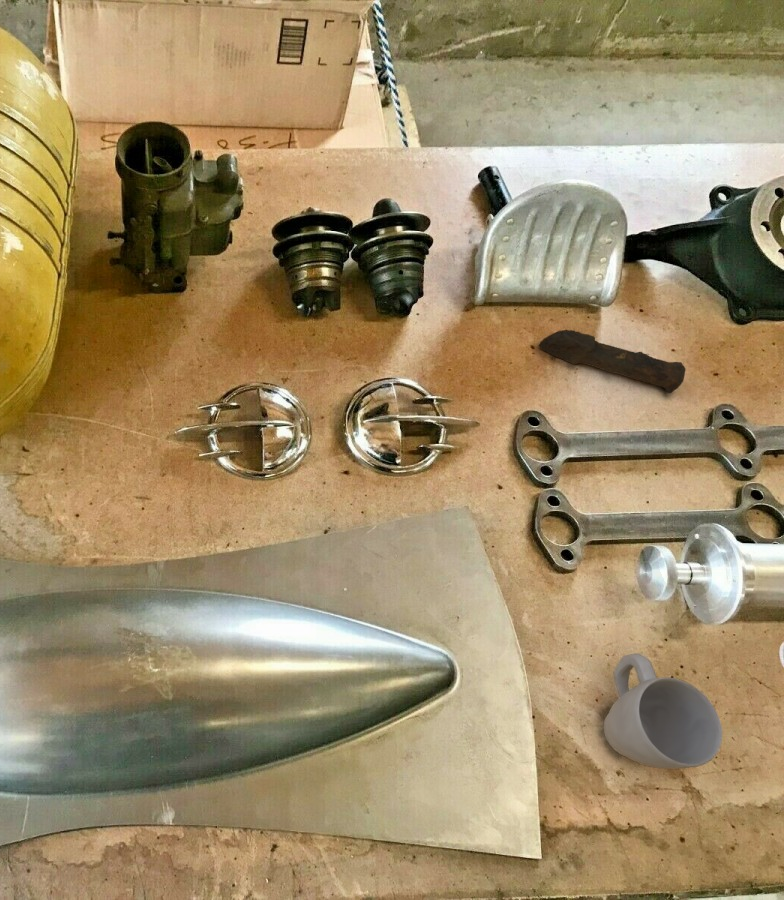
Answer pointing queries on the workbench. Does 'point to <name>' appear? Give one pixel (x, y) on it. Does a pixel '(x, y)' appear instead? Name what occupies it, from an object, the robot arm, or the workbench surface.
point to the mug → (661, 719)
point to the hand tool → (614, 359)
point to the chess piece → (782, 653)
